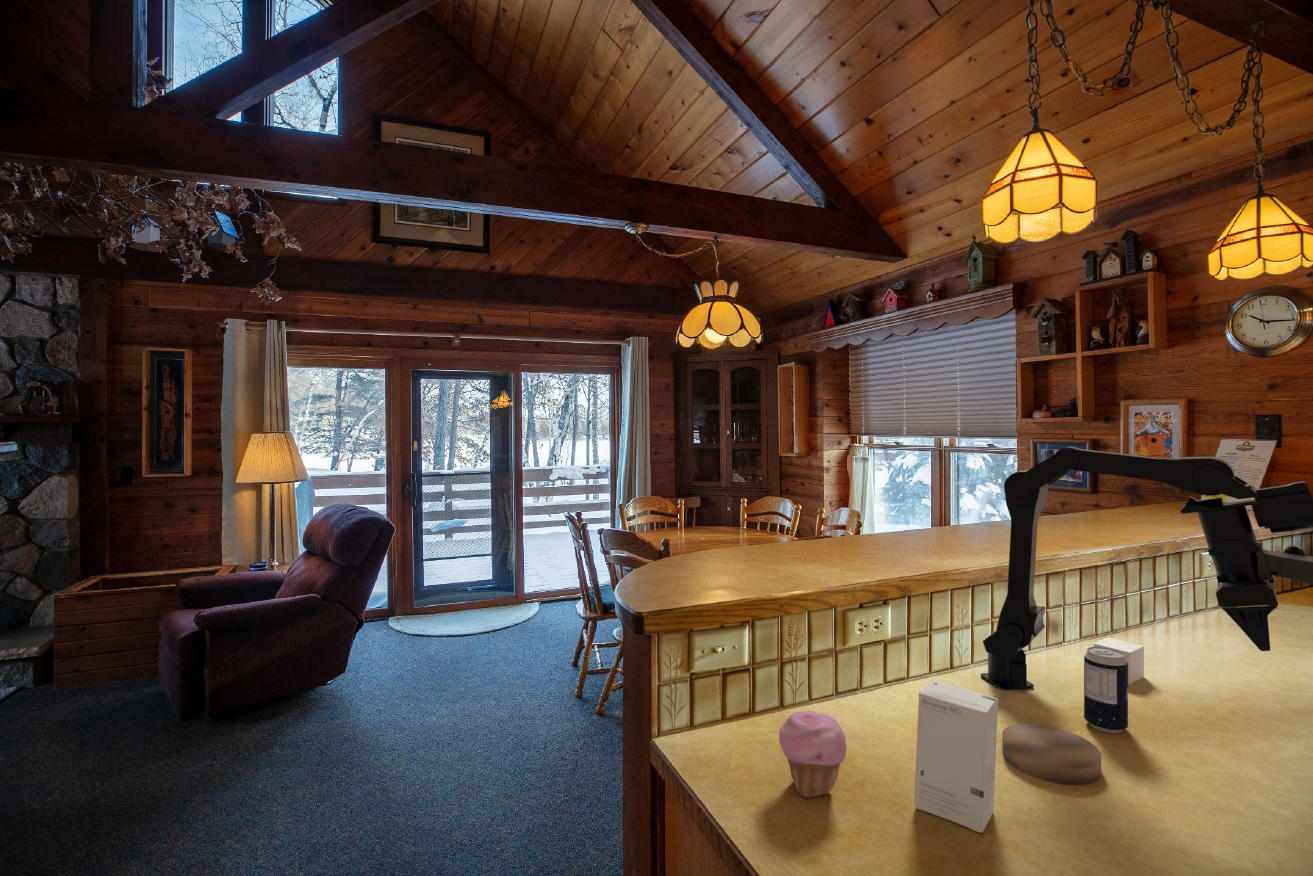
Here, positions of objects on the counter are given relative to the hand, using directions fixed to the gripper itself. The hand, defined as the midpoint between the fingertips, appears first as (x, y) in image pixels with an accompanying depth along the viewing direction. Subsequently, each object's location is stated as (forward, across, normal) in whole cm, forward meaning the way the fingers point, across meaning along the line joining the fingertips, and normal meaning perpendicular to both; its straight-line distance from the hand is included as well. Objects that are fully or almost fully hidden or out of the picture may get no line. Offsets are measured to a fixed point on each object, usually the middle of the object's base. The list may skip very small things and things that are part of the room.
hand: (1264, 642), depth 93 cm
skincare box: (+8, -47, +31) cm, 57 cm away
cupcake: (+4, -55, +47) cm, 72 cm away
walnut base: (+9, -26, +26) cm, 38 cm away
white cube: (+10, +18, +23) cm, 31 cm away
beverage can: (+11, -8, +22) cm, 26 cm away
